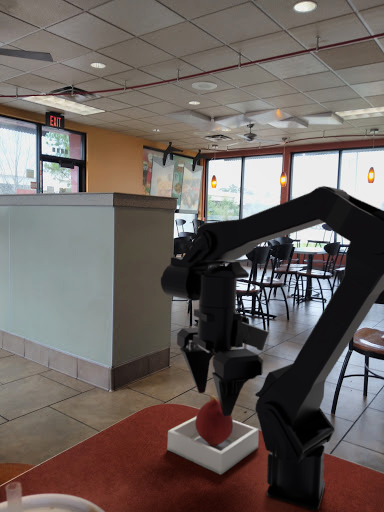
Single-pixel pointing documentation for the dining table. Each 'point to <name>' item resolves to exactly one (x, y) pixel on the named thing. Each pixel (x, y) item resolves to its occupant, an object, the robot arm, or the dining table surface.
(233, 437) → the tray
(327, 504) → the dining table surface
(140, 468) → the dining table surface
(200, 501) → the dining table surface
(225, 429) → the onion
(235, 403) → the robot arm
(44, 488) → the dining table surface
